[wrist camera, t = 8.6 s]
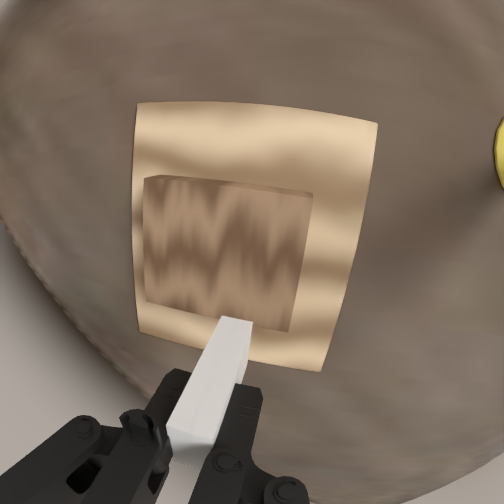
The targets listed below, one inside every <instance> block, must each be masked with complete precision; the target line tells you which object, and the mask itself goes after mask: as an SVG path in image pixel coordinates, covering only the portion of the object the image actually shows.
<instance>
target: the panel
mask: <svg viewBox="0 0 504 504" xmlns="http://www.w3.org/2000/svg"><path fill="white" fill-rule="evenodd" d="M312 204H313V193H309V192H303V191H297V190H290V189H284V188H277V187H270V186H263V185H256V184H248V183H240V182H232V181H223V180H214V179H205V178H195V177H184V176H173V175H155V176H151V177H146V178H144V186H143V255H144V278H145V294H146V302H150V303H153V304H157V305H161V306H165V307H169V308H173V309H177V310H181V311H185V312H189V313H194V314H198V315H202V316H207V317H211V318H216V319H220V318H221V316H226V317H231V318H236V319H241V320H246V321H251V322H253V326H254V327H259V328H265V329H270V330H276V331H281V332H287V333H288V331H289V326H290V322H291V317H292V312H293V308H294V303H295V298H296V293H297V288H298V283H299V278H300V273H301V267H302V262H303V257H304V251H305V246H306V240H307V234H308V229H309V223H310V217H311V211H312Z"/></svg>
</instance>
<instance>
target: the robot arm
mask: <svg viewBox="0 0 504 504" xmlns="http://www.w3.org/2000/svg"><path fill="white" fill-rule="evenodd" d="M252 326H253V322H251V321H246V320H241V319H236V318H231V317H226V316H221V318H220V320H219V322H218V324H217V326H216V328H215V330H214V332H213V334H212V336H211V338H210V340H209V342H208V343H207V345H206V347H205V349H204V351H203V353H202V355H201V357H200V359H199V361H198V363H197V365H196V367H195V369H194V371H193V373H190V372H187V371H183V370H180V369H176V368H175V369H173V370H172V371H170V372H169V373H168V374H166V375H165V377H164V378H163V380H162V382H161V383H160V386H159V387H158V388H157V390H156V393H154V395H153V397H152V398H151V400H150V402H149V403H148V405H147V407H146V408H145V410H140V409H133V410H129V411H127V412H124V413H123V414H122V415H121V416H120V417H119V419H120V421H121V423H122V426H123V428H118V427H110V426H103V425H100V423H99V422H98V421H97V420H96V419H95V418H93V417H91V416H86V415H81V416H77V417H75V418H74V419H72V420H71V421H69V422H68V423H67V424H65V425H64V426H63V427H62V428H60V429H59V430H58V431H57V432H56V433H54V434H53V435H52V436H51V437H49V438H48V439H47V440H45V441H44V442H43V443H42V444H41V445H39V446H38V447H37V448H35V449H34V450H33V451H32V452H30V453H29V454H28V455H26V456H25V457H24V458H23V459H21V460H20V461H19V462H18V463H16V464H15V465H14V466H12V467H11V468H10V469H8V470H7V471H6V472H5V473H3V474H2V475H1V476H0V504H155V503H156V500H157V498H158V496H159V494H160V491H161V489H162V487H163V485H164V481H165V480H166V478H167V476H168V473H169V463H170V461H171V458H172V456H173V460H174V461H176V462H179V463H182V464H185V465H188V466H191V467H195V468H198V469H201V471H200V474H199V477H198V479H197V482H196V485H195V487H194V490H193V492H192V495H191V498H190V501H189V503H188V504H310V503H309V497H308V492H307V489H306V487H305V485H304V484H303V483H302V482H301V481H300V480H298V479H296V478H293V477H287V476H282V477H275V476H273V475H270V474H268V473H266V472H264V471H262V470H261V469H259V468H258V467H257V466H256V465H255V464H254V462H253V460H252V457H251V449H252V445H253V441H254V437H255V432H256V428H257V424H258V419H259V415H260V411H261V406H262V402H263V396H262V393H261V390H260V388H257V387H252V386H247V385H242V384H241V382H242V379H243V376H244V372H245V369H246V366H247V361H248V354H249V347H250V340H251V333H252Z"/></svg>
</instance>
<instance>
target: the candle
mask: <svg viewBox="0 0 504 504" xmlns="http://www.w3.org/2000/svg"><path fill="white" fill-rule="evenodd" d="M494 153H495V164H496V170H497V173H498V176H499V179H500V182H501V185H502V187H503V188H504V118H503V120H502V122H501V124H500V126H499V127H498V129H497V132H496V139H495V146H494Z"/></svg>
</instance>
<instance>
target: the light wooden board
mask: <svg viewBox="0 0 504 504" xmlns="http://www.w3.org/2000/svg"><path fill="white" fill-rule="evenodd" d="M377 126H378V123H374V122H370V121H365V120H361V119H356V118H351V117H346V116H341V115H336V114H330V113H324V112H318V111H312V110H305V109H297V108H290V107H281V106H272V105H261V104H248V103H232V102H194V101H190V102H153V103H138V106H137V115H136V126H135V138H134V152H133V173H132V246H133V267H134V282H135V294H136V305H137V315H138V324H139V332H143V333H146V334H149V335H152V336H156V337H159V338H163V339H166V340H169V341H173V342H177V343H180V344H184V345H188V346H192V347H195V348H199V349H203V350H204V349H205V347H206V345H207V343H208V342H209V340H210V338H211V336H212V334H213V332H214V330H215V328H216V326H217V324H218V322H219V320H220V319H216V318H211V317H207V316H202V315H198V314H194V313H189V312H185V311H181V310H177V309H173V308H169V307H165V306H161V305H157V304H153V303H150V302H146V294H145V278H144V255H143V186H144V178H146V177H151V176H155V175H173V176H184V177H195V178H205V179H214V180H223V181H232V182H240V183H248V184H256V185H263V186H270V187H277V188H284V189H290V190H297V191H303V192H309V193H313V204H312V211H311V217H310V223H309V229H308V234H307V240H306V246H305V251H304V257H303V262H302V267H301V273H300V278H299V283H298V288H297V293H296V298H295V303H294V308H293V312H292V317H291V322H290V326H289V331H288V333H287V332H281V331H276V330H270V329H265V328H259V327H254V326H252V333H251V340H250V347H249V354H248V360H252V361H257V362H263V363H268V364H273V365H279V366H285V367H291V368H297V369H304V370H311V371H318V372H320V371H321V368H322V365H323V362H324V359H325V356H326V353H327V350H328V347H329V344H330V341H331V338H332V335H333V332H334V329H335V325H336V322H337V319H338V315H339V312H340V309H341V305H342V302H343V298H344V294H345V291H346V287H347V283H348V280H349V276H350V272H351V268H352V264H353V260H354V256H355V251H356V247H357V243H358V238H359V234H360V229H361V224H362V220H363V215H364V210H365V204H366V199H367V194H368V188H369V182H370V176H371V170H372V164H373V157H374V150H375V142H376V135H377Z"/></svg>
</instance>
